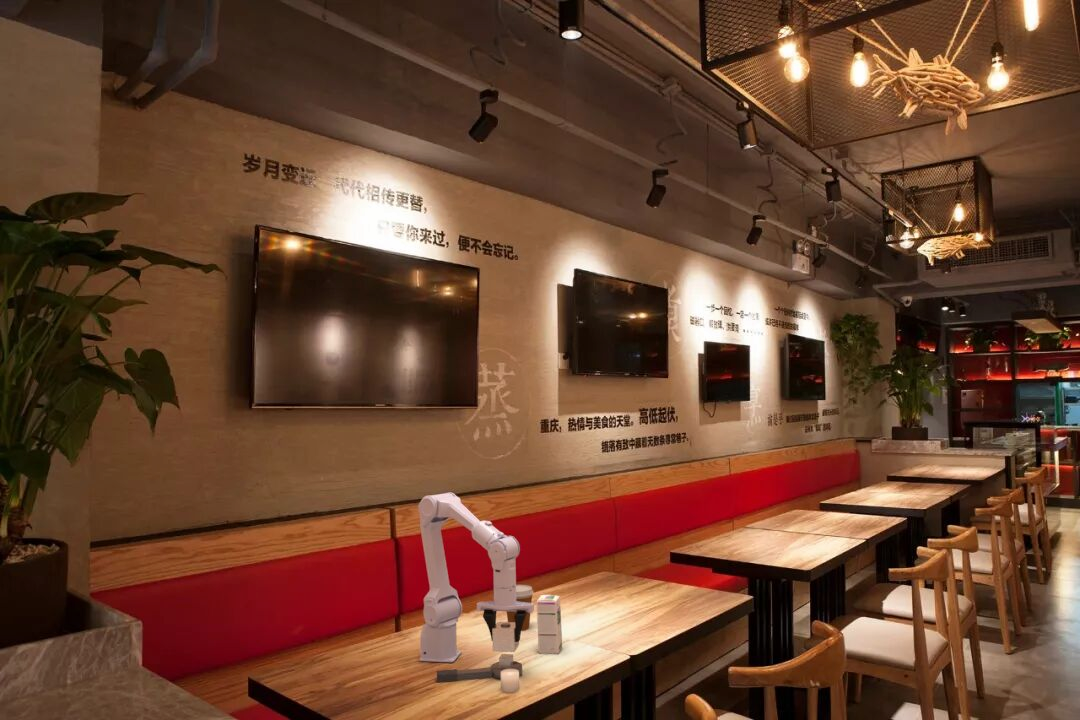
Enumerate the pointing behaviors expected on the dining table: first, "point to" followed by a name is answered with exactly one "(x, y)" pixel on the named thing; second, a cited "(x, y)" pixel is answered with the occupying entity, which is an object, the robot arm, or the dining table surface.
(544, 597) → the syrup box
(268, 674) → the dining table surface
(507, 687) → the pale pink cylinder
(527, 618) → the disposable coffee cup
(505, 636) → the tan square block
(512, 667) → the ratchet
